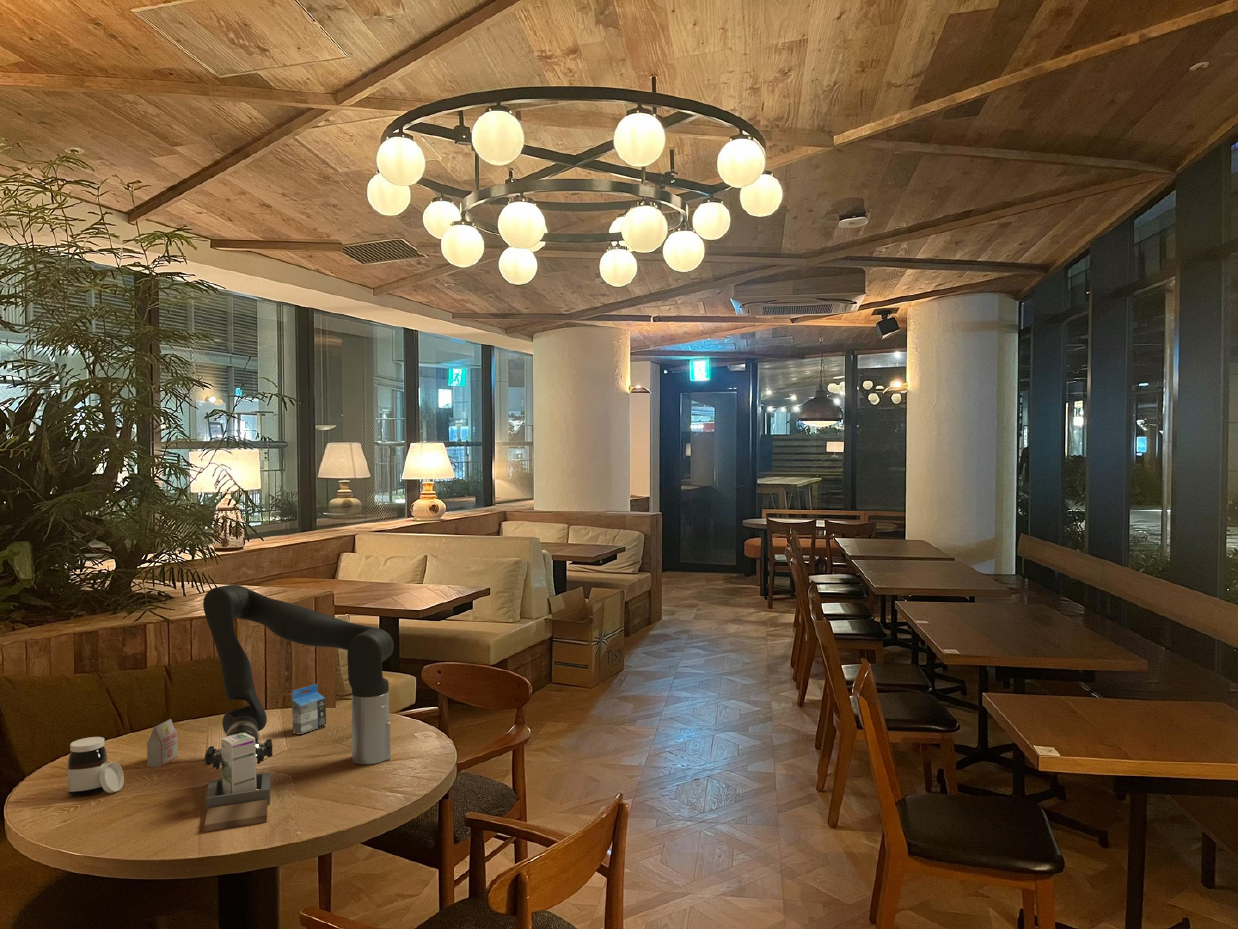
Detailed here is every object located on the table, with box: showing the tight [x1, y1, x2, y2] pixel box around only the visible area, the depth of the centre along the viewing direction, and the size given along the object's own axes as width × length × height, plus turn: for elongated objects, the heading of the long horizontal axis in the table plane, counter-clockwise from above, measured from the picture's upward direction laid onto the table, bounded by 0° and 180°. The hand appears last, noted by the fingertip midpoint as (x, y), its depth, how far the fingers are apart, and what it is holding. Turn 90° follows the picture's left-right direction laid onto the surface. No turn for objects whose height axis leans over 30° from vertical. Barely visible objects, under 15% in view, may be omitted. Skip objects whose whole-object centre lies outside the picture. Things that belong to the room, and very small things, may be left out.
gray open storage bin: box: [204, 771, 271, 815], centre depth 187 cm, size 13×11×4 cm
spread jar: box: [67, 736, 125, 797], centre depth 193 cm, size 12×11×12 cm
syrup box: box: [220, 733, 257, 795], centre depth 187 cm, size 6×6×14 cm
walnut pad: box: [203, 799, 268, 833], centre depth 177 cm, size 12×9×2 cm
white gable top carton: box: [146, 718, 179, 768], centre depth 211 cm, size 4×7×10 cm, turn 175°
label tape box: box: [291, 683, 327, 735], centre depth 235 cm, size 9×4×12 cm, turn 149°
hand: (238, 762), depth 186 cm, fingers open, 8 cm apart
